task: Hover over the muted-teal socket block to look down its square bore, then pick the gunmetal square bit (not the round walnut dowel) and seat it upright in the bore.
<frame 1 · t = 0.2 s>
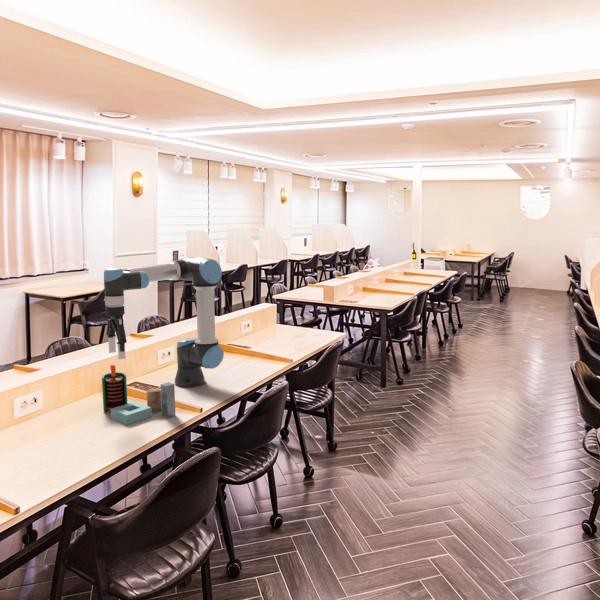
hand: (117, 355, 225), 27 cm above the table, fingers open, 13 cm apart
motor: (115, 409, 238), on the table
round dowel: (154, 410, 236), on the table
socket block: (131, 417, 228), on the table
square bit: (168, 415, 230), on the table
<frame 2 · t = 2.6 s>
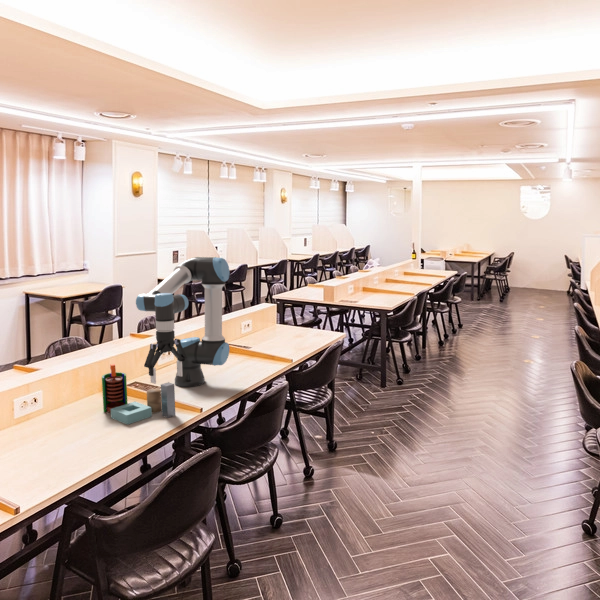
hand: (166, 379, 227), 16 cm above the table, fingers open, 13 cm apart
nothing on the table moved.
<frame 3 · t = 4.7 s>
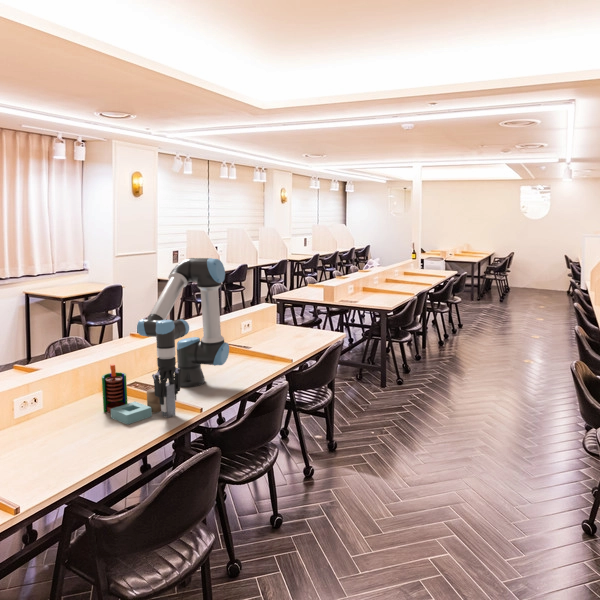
hand: (168, 409, 229), 3 cm above the table, fingers closed on square bit, 4 cm apart
square bit: (168, 415, 230), on the table, touching gripper
everything else where it was.
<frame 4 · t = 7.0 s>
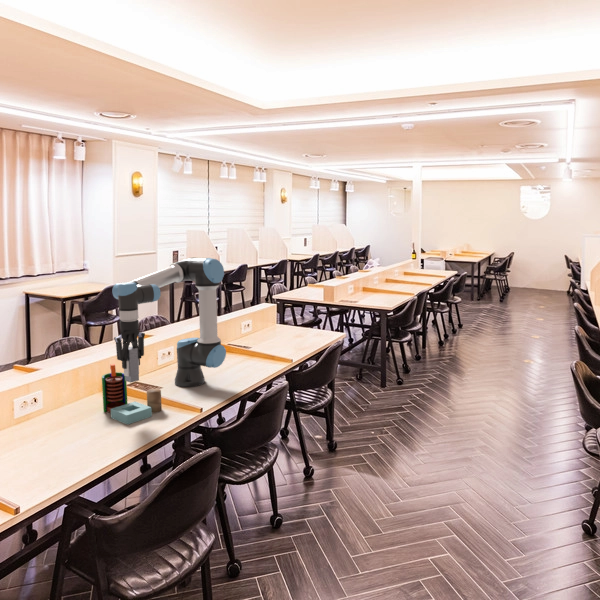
hand: (131, 374, 225), 19 cm above the table, fingers closed on square bit, 4 cm apart
square bit: (132, 380, 226), point 16 cm above the table, touching gripper
everything else where it was.
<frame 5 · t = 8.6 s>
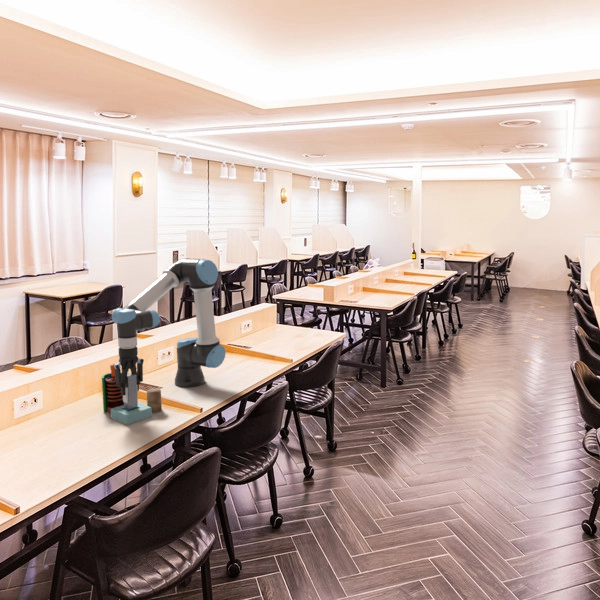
hand: (130, 400, 227), 7 cm above the table, fingers closed on square bit, 4 cm apart
square bit: (130, 406, 227), point 5 cm above the table, touching gripper
everything else where it was.
when the fingers open (5 cm above the table, at t = 9.6 s): square bit drops 2 cm, resting in socket block.
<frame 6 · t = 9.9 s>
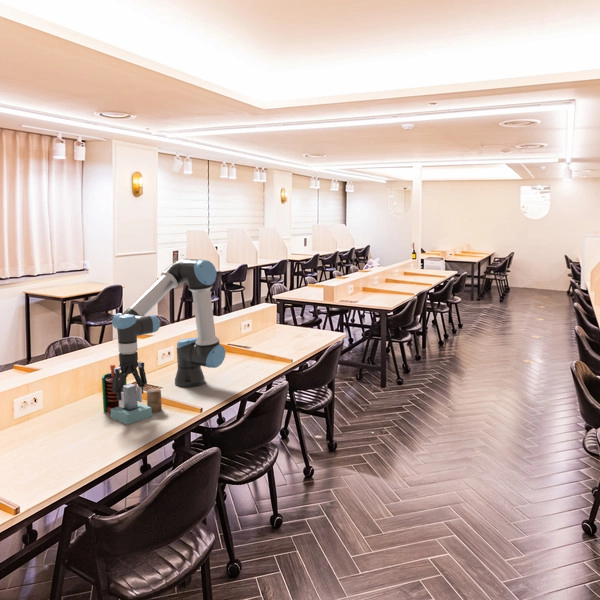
hand: (130, 404, 227), 6 cm above the table, fingers open, 8 cm apart
square bit: (131, 417, 228), resting in socket block
everything else where it was.
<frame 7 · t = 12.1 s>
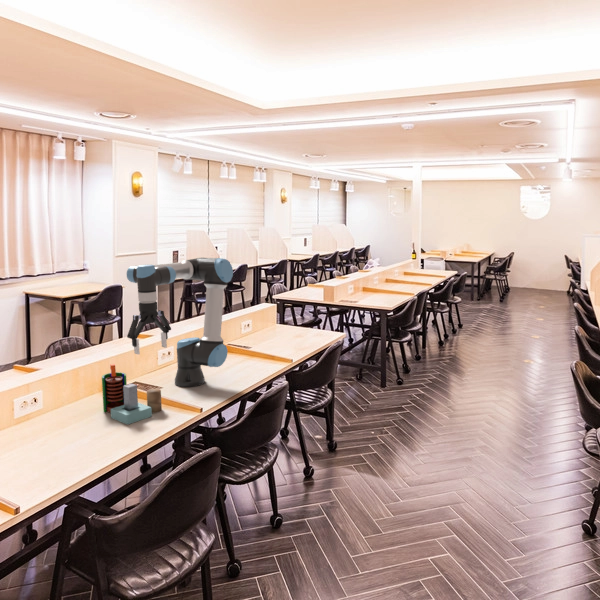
hand: (151, 350, 229), 28 cm above the table, fingers open, 13 cm apart
nothing on the table moved.
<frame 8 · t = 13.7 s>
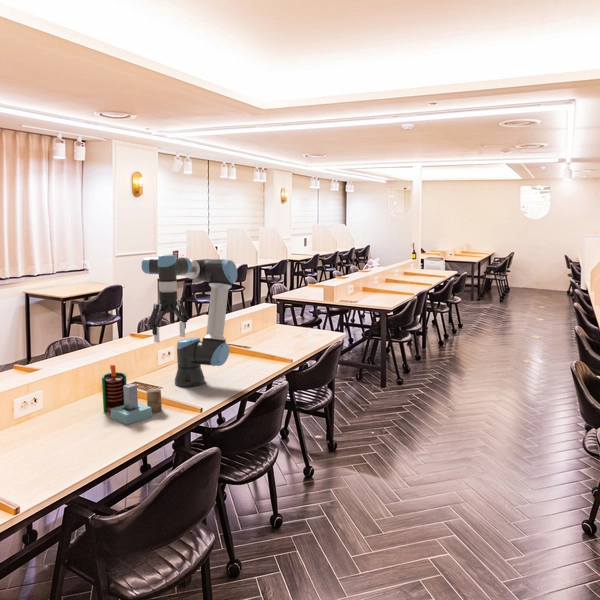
hand: (170, 339, 233), 32 cm above the table, fingers open, 13 cm apart
nothing on the table moved.
at the end: square bit 0.1 cm off-centre on the socket block, point 0.0 cm above the socket block's base; square bit tilted 0°; the gripper is holding nothing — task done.
